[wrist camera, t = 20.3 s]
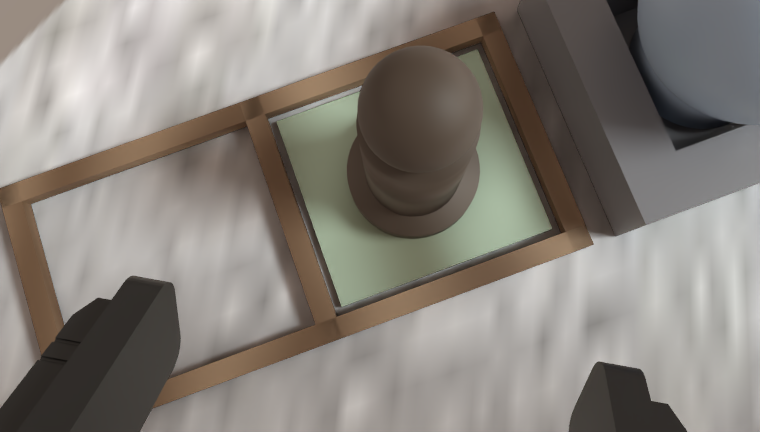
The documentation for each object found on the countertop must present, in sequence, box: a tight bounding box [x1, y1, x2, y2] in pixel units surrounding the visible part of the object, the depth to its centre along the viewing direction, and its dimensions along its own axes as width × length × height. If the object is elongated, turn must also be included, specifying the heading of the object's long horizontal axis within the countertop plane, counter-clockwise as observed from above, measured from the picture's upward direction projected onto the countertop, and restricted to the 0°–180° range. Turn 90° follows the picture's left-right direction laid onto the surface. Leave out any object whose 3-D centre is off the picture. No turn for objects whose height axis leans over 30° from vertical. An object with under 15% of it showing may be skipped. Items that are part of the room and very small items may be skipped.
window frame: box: [0, 12, 594, 409], centre depth 24 cm, size 21×10×1 cm, turn 110°
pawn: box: [347, 46, 483, 239], centre depth 20 cm, size 5×5×9 cm
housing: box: [517, 0, 760, 236], centre depth 24 cm, size 10×10×3 cm
